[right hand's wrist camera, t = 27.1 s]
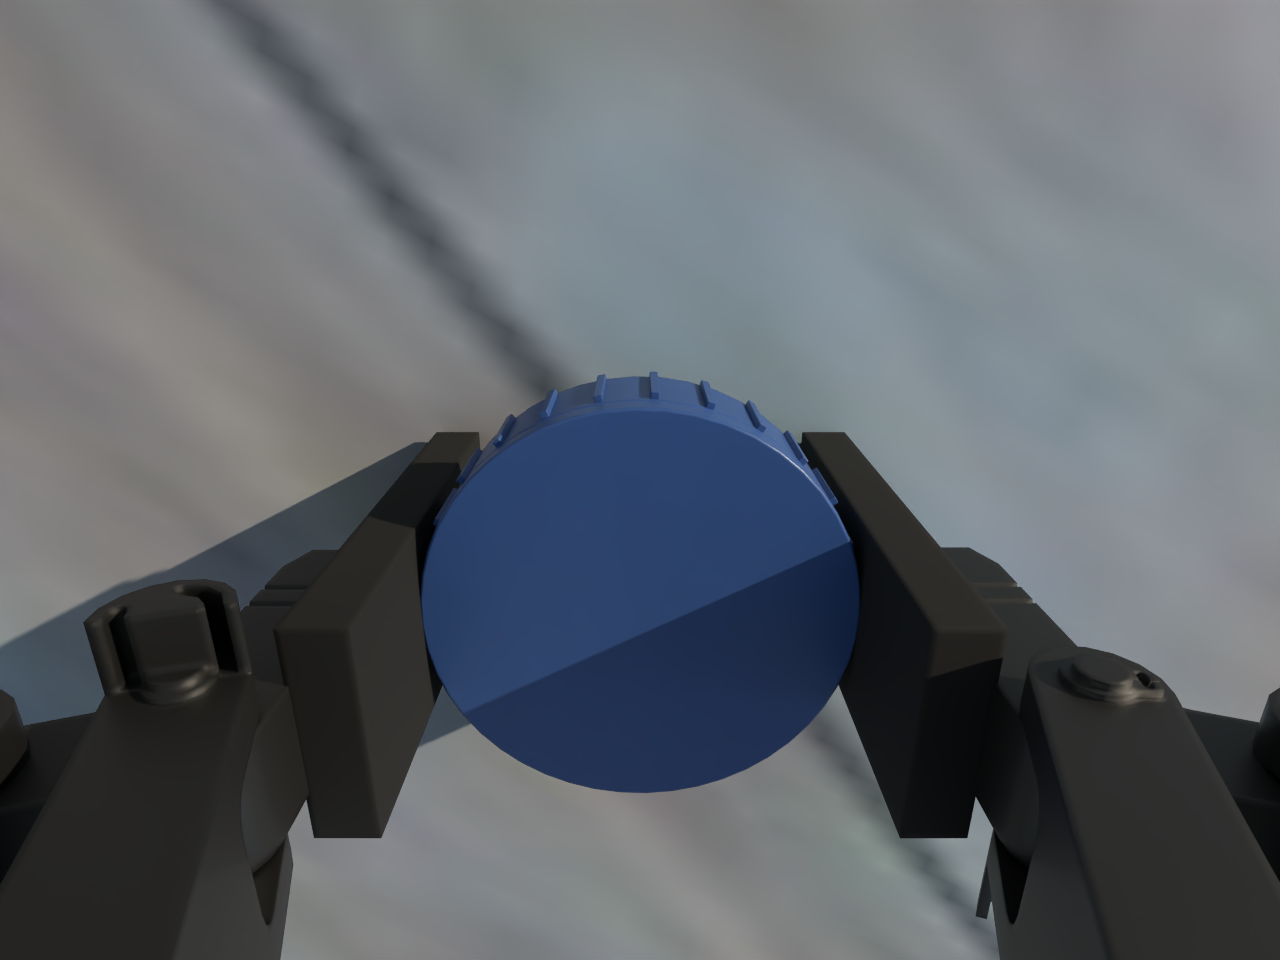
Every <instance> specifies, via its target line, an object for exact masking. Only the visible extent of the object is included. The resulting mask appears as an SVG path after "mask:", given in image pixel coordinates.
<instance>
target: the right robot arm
mask: <svg viewBox="0 0 1280 960" xmlns="http://www.w3.org/2000/svg"><path fill="white" fill-rule="evenodd" d="M477 448H478V449H480V441H479V432H437V433H436V434H435V435H434V436H433V437H432V439H431V440H430V441H429V442H428V443H427V445H426V446H425V447H424V448H423V449H422V451H421V452H420V453H419V454H418V455H417V457H416V458H415V459H414V460H413V461H412V463H411V464H410V465H409V466H408V467H407V469H406V470H405V471H404V472H403V473H402V475H401V476H400V477H399V478H398V479H397V481H396V482H395V483H394V484H393V485H392V487H391V488H390V489H389V490H388V491H387V493H386V494H385V495H384V496H383V497H382V499H381V500H380V501H379V502H378V503H377V505H376V506H375V507H374V508H373V509H372V511H371V512H370V513H369V514H368V515H367V517H366V518H365V519H364V520H363V521H362V523H361V524H360V525H359V526H358V527H357V529H356V530H355V531H354V532H353V533H352V535H351V536H350V537H349V538H348V539H347V541H346V542H345V543H344V544H343V545H342V547H341V548H340V549H339V550H312V551H310V552H309V553H307V554H305V555H303V556H301V557H300V558H298V559H296V560H294V561H292V562H290V563H289V564H287V565H285V566H283V567H282V568H281V569H280V570H279V571H278V573H277V574H276V575H275V576H274V577H273V578H272V579H271V580H270V581H269V582H268V583H267V584H266V585H265V590H261V591H260V592H259V593H258V594H257V595H256V596H255V597H254V598H253V599H252V600H251V601H250V606H245V608H244V609H243V610H242V611H241V612H240V608H239V603H238V599H237V594H236V590H234V589H233V588H231V587H230V586H228V585H227V584H225V583H223V582H217V581H211V580H205V579H201V580H180V581H174V582H169V583H164V584H159V585H154V586H149V587H146V588H143V589H140V590H138V591H135V592H132V593H129V594H126V595H123V596H121V597H119V598H117V599H115V600H113V601H111V602H110V603H108V604H106V605H104V606H102V607H100V608H98V609H97V610H96V611H95V612H94V613H93V614H92V615H91V616H90V617H89V618H88V619H87V620H85V621H84V622H83V623H84V626H85V630H86V633H87V636H88V640H89V643H90V646H91V650H92V653H93V656H94V660H95V663H96V666H97V670H98V673H99V676H100V680H101V683H102V686H103V690H104V693H105V696H104V698H103V700H102V702H101V703H100V705H99V707H98V709H97V711H96V712H94V713H90V714H84V715H79V716H74V717H68V718H63V719H57V720H52V721H47V722H41V723H36V724H31V725H25V726H23V723H22V720H21V717H20V714H19V711H18V709H17V706H16V703H15V700H14V698H13V697H11V696H10V695H8V694H7V693H5V692H4V691H2V690H0V960H280V957H281V950H282V943H283V936H284V928H285V921H286V914H287V907H288V899H289V892H290V885H291V878H292V870H293V859H292V852H291V847H290V842H289V837H288V831H289V830H290V828H291V826H292V824H293V822H294V821H295V819H296V817H297V815H298V813H299V811H300V810H301V808H302V806H303V804H304V802H305V800H306V799H307V804H308V809H309V815H310V820H311V825H312V830H313V835H314V838H381V837H382V835H383V832H384V830H385V827H386V825H387V822H388V820H389V817H390V815H391V812H392V810H393V807H394V805H395V802H396V800H397V797H398V795H399V792H400V790H401V787H402V785H403V782H404V780H405V777H406V775H407V772H408V770H409V767H410V765H411V762H412V760H413V757H414V755H415V752H416V750H417V747H418V745H419V742H420V740H421V737H422V735H423V732H424V730H425V727H426V725H427V722H428V720H429V717H430V715H431V712H432V710H433V707H434V705H435V702H436V700H437V697H438V695H439V692H440V690H441V687H442V685H443V684H442V683H441V681H440V679H439V677H438V675H437V673H436V671H435V668H434V666H433V663H432V661H431V658H430V655H429V653H428V650H427V646H426V641H425V637H424V630H423V621H422V612H421V603H420V590H421V577H422V571H423V567H424V562H425V558H426V554H427V549H428V547H429V544H430V541H431V539H432V536H433V534H434V531H435V529H436V526H434V525H433V523H434V520H435V518H436V516H437V515H438V513H439V511H440V510H441V508H442V507H443V505H444V503H445V502H446V500H447V498H448V497H449V495H450V494H451V492H452V490H453V489H454V488H456V489H458V488H459V487H460V485H461V484H460V483H458V482H457V481H456V480H457V479H458V477H459V475H460V474H461V472H462V470H463V469H464V467H465V466H466V464H467V462H468V461H469V459H470V458H471V456H472V454H473V453H474V451H475V450H476V449H477ZM801 450H802V452H803V453H804V455H805V456H806V458H807V460H808V462H807V464H808V466H809V467H810V469H811V470H813V469H815V468H817V469H818V471H819V472H820V474H821V475H822V477H823V479H824V480H825V482H826V483H827V485H828V486H829V488H830V490H831V491H832V493H833V494H834V496H835V498H836V499H837V501H838V503H837V504H835V505H833V506H834V508H835V510H836V511H837V513H838V515H839V517H840V519H841V521H842V523H843V525H844V527H845V529H846V531H847V532H848V534H849V536H850V537H851V539H852V541H853V542H854V547H855V549H853V551H854V555H855V558H856V561H857V567H858V574H859V581H860V588H861V593H860V614H859V622H858V630H857V637H856V641H855V644H854V647H853V651H852V654H851V657H850V660H849V663H848V665H847V668H846V670H845V672H844V674H843V676H842V678H841V680H840V682H839V687H840V689H841V692H842V694H843V697H844V699H845V702H846V704H847V707H848V709H849V712H850V714H851V717H852V719H853V722H854V724H855V727H856V729H857V732H858V734H859V737H860V739H861V742H862V744H863V747H864V749H865V752H866V754H867V757H868V759H869V762H870V764H871V767H872V769H873V772H874V774H875V777H876V779H877V782H878V784H879V787H880V789H881V792H882V794H883V797H884V799H885V802H886V804H887V807H888V809H889V812H890V814H891V817H892V819H893V822H894V824H895V827H896V829H897V832H898V834H899V837H900V838H967V837H968V832H969V827H970V822H971V817H972V812H973V807H974V802H975V797H976V798H977V799H978V801H979V803H980V805H981V807H982V808H983V810H984V812H985V814H986V816H987V818H988V819H989V821H990V823H991V825H992V827H993V833H992V837H991V842H990V847H989V851H988V856H987V861H986V865H985V870H984V875H983V879H982V884H981V889H980V893H979V898H978V904H977V911H976V916H977V917H981V918H985V919H987V915H988V911H989V906H990V902H992V905H993V912H994V919H995V926H996V934H997V941H998V948H999V955H1000V960H1280V688H1279V689H1277V690H1276V691H1274V692H1273V693H1271V694H1270V695H1269V697H1268V700H1267V703H1266V706H1265V708H1264V711H1263V714H1262V717H1261V720H1260V723H1259V722H1253V721H1248V720H1243V719H1237V718H1232V717H1227V716H1221V715H1216V714H1210V713H1205V712H1200V711H1194V710H1190V709H1186V708H1183V707H1182V706H1181V704H1180V702H1179V700H1178V698H1177V697H1176V695H1175V693H1174V692H1173V691H1172V690H1171V689H1170V688H1169V687H1168V686H1167V684H1166V683H1165V682H1164V681H1163V680H1162V679H1161V678H1160V677H1158V676H1157V675H1155V674H1153V673H1152V672H1150V671H1149V670H1147V669H1146V668H1144V667H1143V666H1141V665H1139V664H1137V663H1135V662H1132V661H1130V660H1127V659H1125V658H1122V657H1120V656H1118V655H1115V654H1113V653H1108V652H1104V651H1100V650H1095V649H1091V648H1087V647H1077V646H1076V645H1075V644H1074V642H1073V641H1072V640H1071V639H1070V638H1069V637H1068V636H1067V635H1066V634H1065V633H1064V632H1063V631H1062V630H1061V629H1060V628H1059V627H1058V626H1057V625H1056V624H1055V623H1054V621H1053V620H1052V619H1051V618H1050V617H1049V616H1048V615H1047V614H1046V613H1045V612H1044V611H1043V610H1042V609H1041V608H1040V607H1039V606H1038V605H1037V604H1036V603H1032V598H1031V597H1030V596H1029V595H1028V594H1027V593H1026V592H1025V591H1024V590H1023V589H1022V588H1021V587H1017V583H1016V582H1015V581H1014V579H1013V578H1012V577H1011V576H1010V575H1009V574H1008V573H1007V572H1006V571H1005V570H1004V569H1003V568H1002V567H1001V566H1000V565H999V564H998V563H996V562H994V561H992V560H991V559H989V558H987V557H985V556H983V555H981V554H980V553H978V552H976V551H974V550H972V549H971V548H941V547H940V546H939V545H938V544H937V542H936V541H935V540H934V539H933V538H932V537H931V535H930V534H929V533H928V532H927V531H926V529H925V528H924V527H923V526H922V525H921V523H920V522H919V521H918V520H917V519H916V517H915V516H914V515H913V514H912V513H911V511H910V510H909V509H908V508H907V507H906V505H905V504H904V503H903V502H902V501H901V499H900V498H899V497H898V496H897V495H896V493H895V492H894V491H893V490H892V489H891V487H890V486H889V485H888V484H887V483H886V481H885V480H884V479H883V478H882V477H881V475H880V474H879V473H878V472H877V471H876V469H875V468H874V467H873V466H872V465H871V463H870V462H869V461H868V460H867V459H866V457H865V456H864V455H863V454H862V453H861V452H860V450H859V449H858V448H857V447H856V446H855V444H854V443H853V442H852V441H851V440H850V438H849V437H848V436H847V435H846V434H845V432H802V444H801Z"/></svg>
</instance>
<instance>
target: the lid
mask: <svg viewBox="0 0 1280 960" xmlns="http://www.w3.org/2000/svg"><path fill="white" fill-rule="evenodd" d="M807 462H808V460H807V458H806V456H805V455H804V453H803V452H802V450H801V448H800V447H799V445H798V443H797V442H796V440H795V439H794V437H793V435H792V434H791V433H790V432H789V431H786V432H785V433H784V434H783V433H782V432H781V431H780V430H779V429H778V428H777V427H775V426H774V425H773V424H772V423H771V422H769V421H768V420H767V419H766V418H765V417H763V416H762V415H761V414H759V412H758V410H757V408H756V406H755V404H754V403H752V402H751V401H748V402H747V403H746V405H745V404H743V403H742V402H740V401H738V400H736V399H734V398H732V397H729V396H727V395H725V394H723V393H721V392H718V391H716V390H714V389H711V388H710V385H709V383H708V382H706V381H703V380H702V381H701V383H700V385H697V384H694V383H690V382H686V381H680V380H674V379H668V378H662V377H658V373H657V372H650V376H649V377H624V378H613V379H606V376H605V374H604V375H598V377H597V381H596V382H592V383H587V384H583V385H579V386H576V387H574V388H571V389H568V390H565V391H563V392H560V393H557V391H556V389H553V390H551V391H549V392H548V395H547V397H546V399H545V400H543V401H541V402H539V403H538V404H536V405H534V406H532V407H530V408H529V409H527V410H526V411H525V412H523V413H522V414H520V415H519V416H518V417H516V418H515V417H514V416H513V415H512V414H511V415H510V416H508V417H507V418H506V420H505V422H504V423H503V425H502V427H501V428H500V430H499V432H498V434H497V435H496V436H495V437H494V438H493V439H492V440H491V441H490V442H489V443H488V445H487V446H486V447H485V448H484V450H483V451H481V450H480V449H478V448H477V449H476V450H475V451H474V453H473V454H472V456H471V458H470V459H469V461H468V462H467V464H466V466H465V467H464V469H463V470H462V472H461V474H460V475H459V477H458V479H457V480H456V481H457V482H458V483H460V484H461V485H460V487H459V488H458V489H456V488H454V489H453V490H452V492H451V494H450V495H449V497H448V498H447V500H446V502H445V503H444V505H443V507H442V508H441V510H440V511H439V513H438V515H437V516H436V518H435V520H434V523H433V525H434V526H436V529H435V531H434V534H433V536H432V539H431V541H430V544H429V547H428V549H427V554H426V558H425V562H424V567H423V571H422V577H421V590H420V603H421V612H422V621H423V630H424V637H425V641H426V646H427V650H428V653H429V655H430V658H431V661H432V663H433V666H434V668H435V671H436V673H437V675H438V677H439V679H440V681H441V683H442V684H443V686H444V688H445V690H446V692H447V693H448V695H449V697H450V698H451V699H452V701H453V702H454V703H455V705H456V706H457V707H458V709H459V710H460V711H461V713H462V714H463V715H464V716H465V717H466V718H467V719H468V721H469V722H470V723H471V724H472V725H473V726H474V727H475V728H476V729H477V730H478V731H479V732H480V733H481V734H482V735H484V736H485V737H486V738H487V739H488V740H490V741H491V742H492V743H493V744H495V745H496V746H497V747H498V748H500V749H501V750H502V751H504V752H506V753H507V754H509V755H510V756H512V757H513V758H515V759H517V760H518V761H520V762H521V763H523V764H525V765H527V766H529V767H531V768H534V769H536V770H538V771H540V772H542V773H544V774H546V775H549V776H552V777H555V778H557V779H560V780H563V781H566V782H569V783H573V784H577V785H581V786H585V787H589V788H593V789H600V790H608V791H615V792H632V793H651V792H665V791H675V790H680V789H686V788H691V787H697V786H700V785H704V784H707V783H711V782H714V781H718V780H721V779H724V778H726V777H729V776H731V775H733V774H736V773H738V772H741V771H743V770H746V769H748V768H749V767H751V766H753V765H755V764H757V763H758V762H760V761H762V760H764V759H766V758H768V757H769V756H771V755H772V754H773V753H775V752H776V751H778V750H779V749H780V748H782V747H783V746H785V745H786V744H788V743H789V742H790V741H791V740H792V739H793V738H795V737H796V736H797V735H798V734H799V733H800V732H801V731H802V730H803V729H804V728H806V727H807V726H808V725H809V724H810V722H811V721H812V720H813V719H814V718H815V717H816V715H817V714H818V713H819V712H820V711H821V710H822V708H823V707H824V706H825V704H826V703H827V701H828V700H829V698H830V697H831V695H832V694H833V692H834V691H835V689H836V688H837V686H838V684H839V682H840V680H841V678H842V676H843V674H844V672H845V670H846V668H847V665H848V663H849V660H850V657H851V654H852V651H853V647H854V644H855V641H856V637H857V630H858V622H859V614H860V593H861V588H860V581H859V574H858V567H857V561H856V558H855V555H854V551H853V549H855V547H854V542H853V541H852V539H851V537H850V536H849V534H848V532H847V531H846V529H845V527H844V525H843V523H842V521H841V519H840V517H839V515H838V513H837V511H836V510H835V508H834V506H833V505H835V504H837V503H838V501H837V499H836V498H835V496H834V494H833V493H832V491H831V490H830V488H829V486H828V485H827V483H826V482H825V480H824V479H823V477H822V475H821V474H820V472H819V471H818V469H817V468H815V469H813V470H811V469H810V467H809V466H808V464H807Z"/></svg>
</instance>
